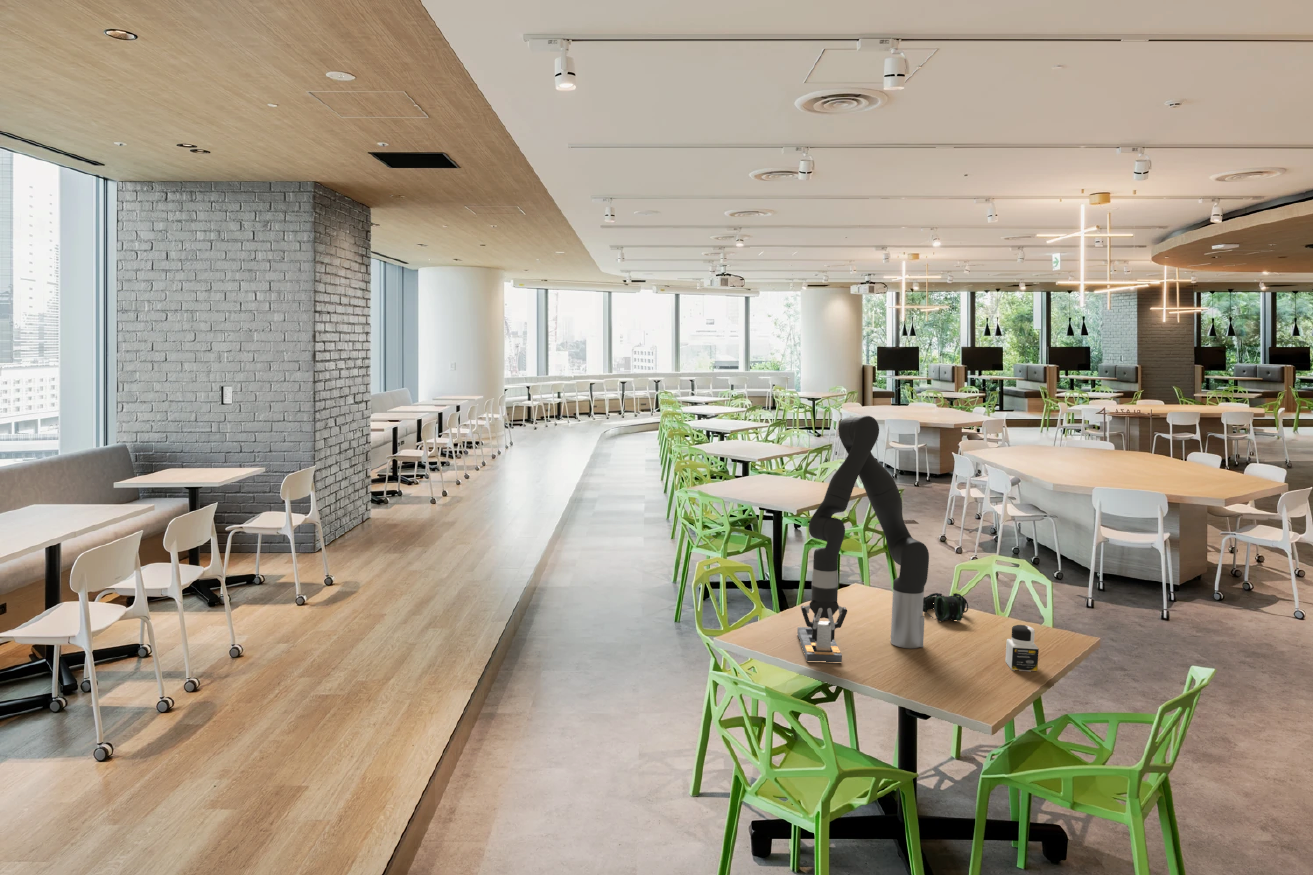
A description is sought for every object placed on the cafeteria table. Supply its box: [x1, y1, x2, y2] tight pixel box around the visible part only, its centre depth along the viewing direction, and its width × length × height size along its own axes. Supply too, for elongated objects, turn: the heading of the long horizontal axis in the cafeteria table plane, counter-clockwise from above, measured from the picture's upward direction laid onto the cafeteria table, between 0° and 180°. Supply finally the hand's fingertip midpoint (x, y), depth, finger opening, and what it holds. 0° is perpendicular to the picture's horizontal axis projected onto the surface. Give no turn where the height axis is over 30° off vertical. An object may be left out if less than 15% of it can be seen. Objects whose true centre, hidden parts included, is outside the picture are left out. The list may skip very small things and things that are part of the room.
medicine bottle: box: [1005, 624, 1040, 672], centre depth 247 cm, size 7×7×12 cm
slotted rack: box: [796, 626, 843, 662], centre depth 260 cm, size 10×25×3 cm, turn 177°
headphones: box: [923, 592, 969, 622], centre depth 295 cm, size 13×13×20 cm
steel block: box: [815, 620, 831, 652], centre depth 252 cm, size 4×4×9 cm
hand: (822, 640), depth 252 cm, fingers closed on steel block, 3 cm apart
